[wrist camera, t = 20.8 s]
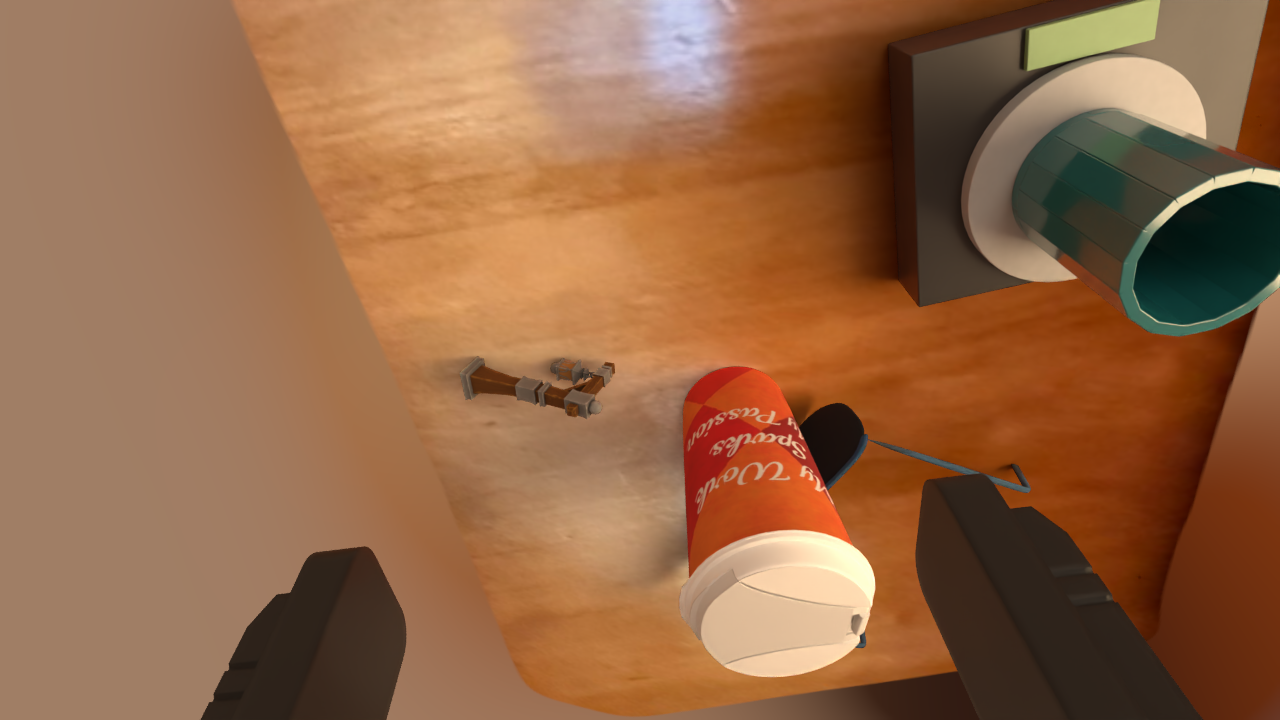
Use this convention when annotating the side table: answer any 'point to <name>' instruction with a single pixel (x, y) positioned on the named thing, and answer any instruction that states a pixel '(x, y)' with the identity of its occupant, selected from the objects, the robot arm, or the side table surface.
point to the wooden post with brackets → (541, 386)
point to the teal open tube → (1153, 219)
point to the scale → (1042, 117)
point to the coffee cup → (764, 535)
